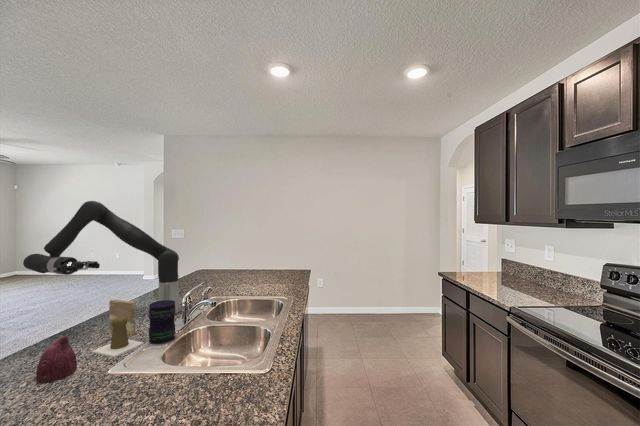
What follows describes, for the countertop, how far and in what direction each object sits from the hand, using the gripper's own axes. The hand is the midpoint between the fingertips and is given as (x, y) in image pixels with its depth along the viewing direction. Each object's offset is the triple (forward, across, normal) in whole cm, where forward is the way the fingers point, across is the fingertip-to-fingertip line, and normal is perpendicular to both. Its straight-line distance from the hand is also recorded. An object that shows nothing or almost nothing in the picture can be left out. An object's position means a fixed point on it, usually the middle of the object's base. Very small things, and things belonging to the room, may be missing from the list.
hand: (88, 267), depth 123 cm
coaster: (+21, -2, +30) cm, 37 cm away
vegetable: (+20, -22, +30) cm, 42 cm away
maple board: (+8, +9, +30) cm, 32 cm away
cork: (+21, -1, +30) cm, 36 cm away
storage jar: (+30, +10, +30) cm, 44 cm away
